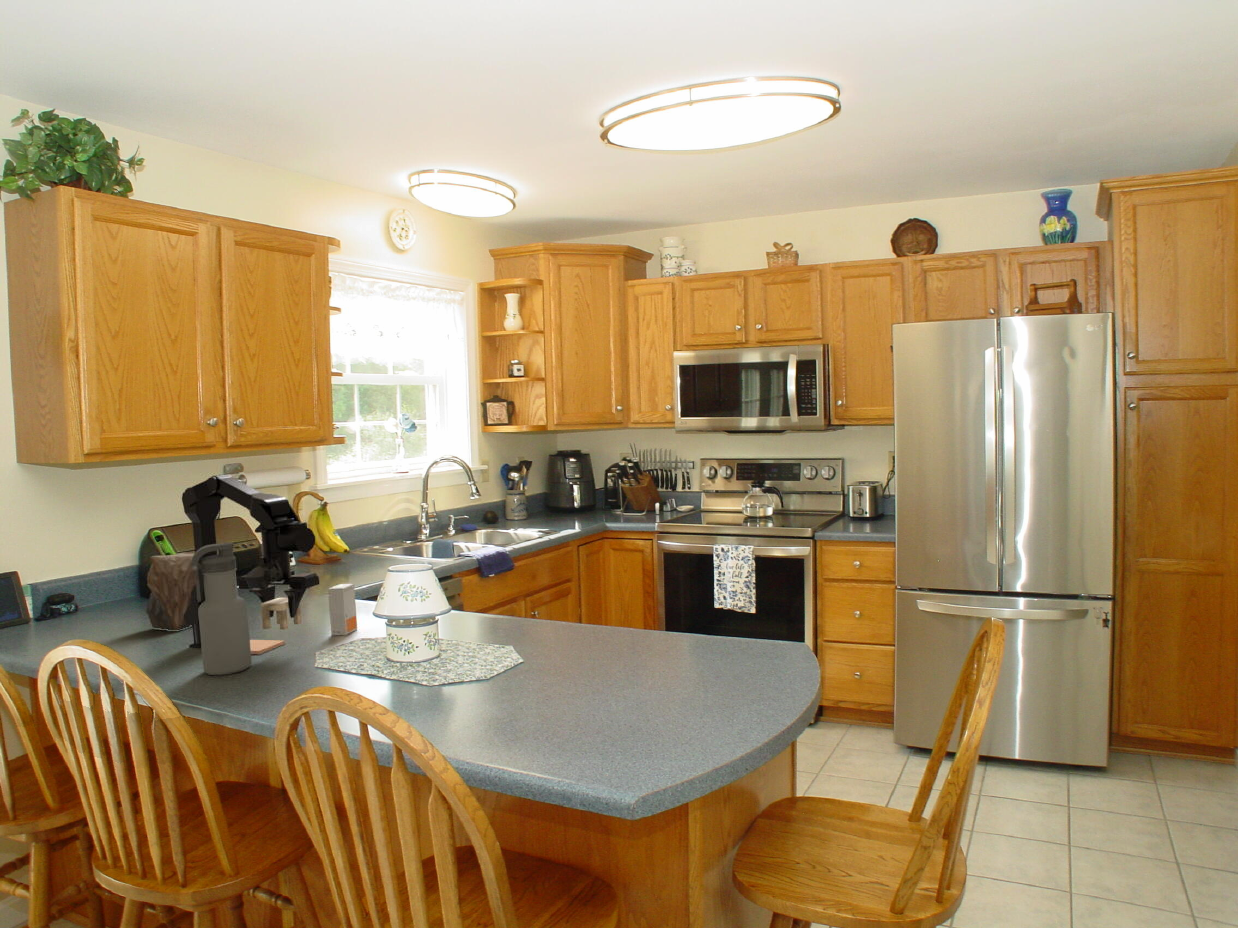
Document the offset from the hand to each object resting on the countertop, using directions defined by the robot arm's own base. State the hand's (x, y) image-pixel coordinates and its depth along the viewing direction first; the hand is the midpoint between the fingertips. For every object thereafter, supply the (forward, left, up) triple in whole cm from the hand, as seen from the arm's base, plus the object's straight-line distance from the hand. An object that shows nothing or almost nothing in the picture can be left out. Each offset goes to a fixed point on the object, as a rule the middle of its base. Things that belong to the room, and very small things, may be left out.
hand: (281, 617), depth 203 cm
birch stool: (0, 0, -2) cm, 2 cm away
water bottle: (-5, -13, -9) cm, 17 cm away
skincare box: (+3, +19, -9) cm, 21 cm away
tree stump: (-52, +20, -9) cm, 56 cm away
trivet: (-11, +3, -9) cm, 14 cm away
